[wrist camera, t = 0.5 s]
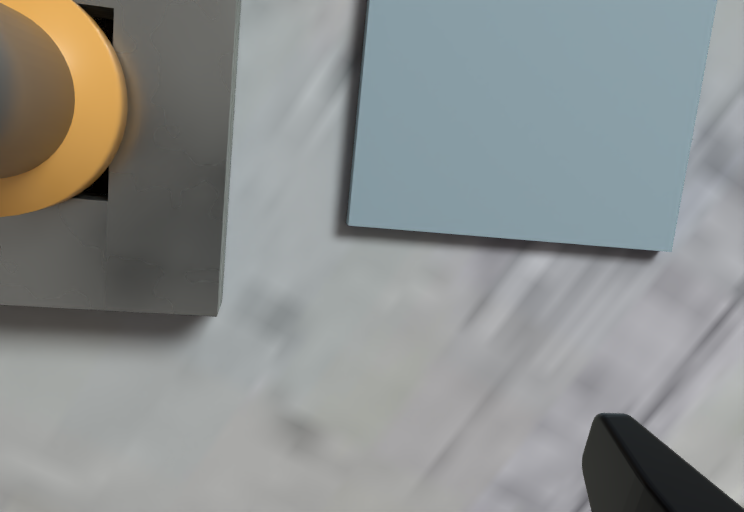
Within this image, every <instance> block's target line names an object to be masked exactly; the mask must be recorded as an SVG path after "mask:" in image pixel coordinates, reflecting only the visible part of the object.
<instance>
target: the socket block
mask: <svg viewBox="0 0 744 512" xmlns="http://www.w3.org/2000/svg"><path fill="white" fill-rule="evenodd" d="M73 1H74V2H75V3H76V4H78V5H79V6H80V7H81V8H83V9H84V10H85V11H86V12H87V13H88V14H89V15H90V16H91V17H97V18H105V19H112V20H114V25H113V48H114V50H115V52H116V55H117V57H118V59H119V61H120V64H121V67H122V71H123V74H124V77H125V82H126V88H127V99H128V112H127V121H126V127H125V131H124V135H123V138H122V141H121V143H120V146H119V148H118V151H117V153H116V155H115V156H114V158H113V160H112V161H111V163H110V165H109V183H108V194H98V193H86V192H81V193H80V194H78V195H76V196H74V197H72V198H70V199H69V200H67V201H64V202H62V203H59V204H56V205H54V206H51V207H47V208H44V209H40V210H37V211H33V212H29V213H25V214H20V215H15V216H5V217H0V305H14V306H33V307H51V308H69V309H87V310H106V311H124V312H142V313H160V314H178V315H197V316H215V317H217V315H218V312H219V309H220V306H221V303H222V294H223V278H224V263H225V247H226V231H227V215H228V199H229V183H230V167H231V151H232V136H233V120H234V104H235V88H236V72H237V56H238V40H239V25H240V9H241V0H73Z"/></svg>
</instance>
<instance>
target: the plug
mask: <svg viewBox="0 0 744 512" xmlns="http://www.w3.org/2000/svg"><path fill="white" fill-rule="evenodd" d="M127 112H128V99H127V88H126V82H125V77H124V74H123V71H122V67H121V64H120V61H119V59H118V57H117V55H116V52H115V50H114V48H113V46H112V45H111V43H110V41H109V40H108V38H107V36H106V35H105V33H104V32H103V31H102V29H101V28H100V27H99V25H98V24H97V23H96V22H95V20H94V19H93V18H92V17H91V16H90V15H89V14H88V13H87V12H86V11H85V10H84V9H83V8H81V7H80V6H79V5H78V4H76V3H75V2H74V1H73V0H0V217H5V216H15V215H20V214H25V213H29V212H33V211H37V210H40V209H44V208H47V207H51V206H54V205H56V204H59V203H62V202H64V201H67V200H69V199H70V198H72V197H74V196H76V195H78V194H80V193H81V192H82V191H84V190H85V189H86V188H88V187H89V186H91V185H92V184H93V183H94V182H95V181H96V180H97V179H98V178H99V177H100V176H101V175H102V174H103V172H104V171H105V170H106V169H107V167H108V166H109V165H110V163H111V161H112V160H113V158H114V156H115V155H116V153H117V151H118V148H119V146H120V143H121V141H122V138H123V135H124V131H125V127H126V121H127Z"/></svg>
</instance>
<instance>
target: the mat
mask: <svg viewBox="0 0 744 512" xmlns="http://www.w3.org/2000/svg"><path fill="white" fill-rule="evenodd" d="M716 4H717V0H367V10H366V20H365V31H364V41H363V52H362V63H361V73H360V84H359V94H358V105H357V116H356V126H355V137H354V147H353V158H352V168H351V179H350V190H349V200H348V211H347V221H346V223H347V225H348V226H361V227H373V228H385V229H397V230H410V231H422V232H434V233H446V234H458V235H471V236H483V237H495V238H507V239H520V240H532V241H544V242H556V243H568V244H581V245H593V246H605V247H617V248H630V249H642V250H654V251H666V252H672V247H673V241H674V235H675V230H676V224H677V219H678V213H679V208H680V202H681V197H682V191H683V186H684V180H685V175H686V169H687V164H688V158H689V153H690V147H691V142H692V136H693V131H694V125H695V120H696V114H697V109H698V103H699V98H700V92H701V87H702V81H703V76H704V70H705V65H706V59H707V54H708V48H709V43H710V37H711V32H712V26H713V21H714V15H715V10H716Z"/></svg>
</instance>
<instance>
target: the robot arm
mask: <svg viewBox="0 0 744 512" xmlns="http://www.w3.org/2000/svg"><path fill="white" fill-rule="evenodd" d="M582 470H583V476H584V480H585V484H586V489H587V493H588V498H589V502H590V507H591V511H592V512H744V508H742V507H741V506H740V505H739V504H738V503H736V502H735V501H734V500H733V499H731V498H730V497H729V496H728V495H727V494H725V493H724V492H723V491H722V490H720V489H719V488H718V487H717V486H716V485H714V484H713V483H712V482H711V481H709V480H708V479H707V478H706V477H705V476H703V475H702V474H701V473H700V472H698V471H697V470H696V469H695V468H694V467H692V466H691V465H690V464H689V463H687V462H686V461H685V460H684V459H683V458H681V457H680V456H679V455H678V454H676V453H675V452H674V451H673V450H671V449H670V448H669V447H668V446H667V445H665V444H664V443H663V442H662V441H660V440H659V439H658V438H657V437H656V436H654V435H653V434H652V433H651V432H649V431H648V430H647V429H646V428H645V427H643V426H642V425H641V424H640V423H638V422H637V421H636V420H635V419H634V418H632V417H631V416H629V415H627V414H621V413H600V414H598V415H596V417H595V418H594V420H593V422H592V426H591V429H590V432H589V436H588V439H587V442H586V446H585V449H584V453H583V457H582Z"/></svg>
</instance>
